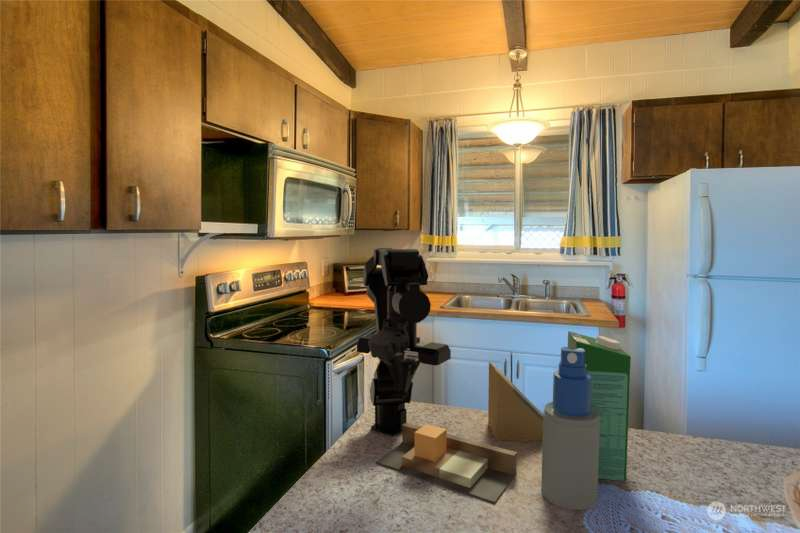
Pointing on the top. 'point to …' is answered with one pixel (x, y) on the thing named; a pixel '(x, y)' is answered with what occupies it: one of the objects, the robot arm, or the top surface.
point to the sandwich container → (511, 410)
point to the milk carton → (608, 399)
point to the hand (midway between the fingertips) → (402, 391)
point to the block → (430, 442)
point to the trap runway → (457, 465)
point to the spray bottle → (571, 436)
